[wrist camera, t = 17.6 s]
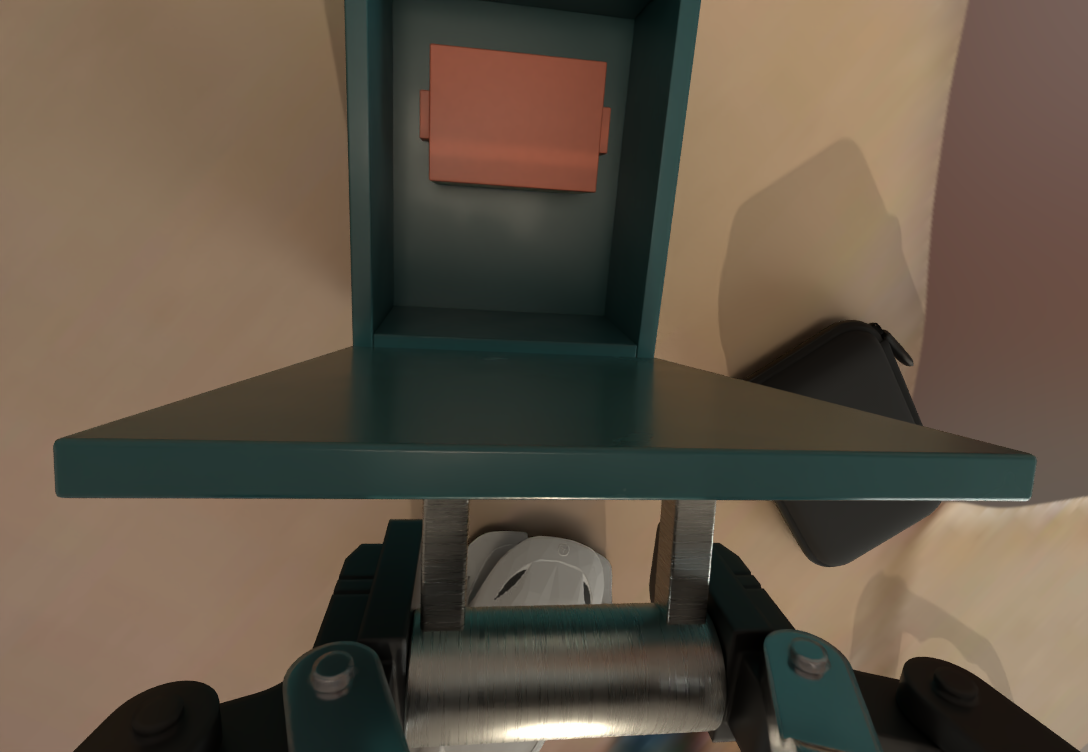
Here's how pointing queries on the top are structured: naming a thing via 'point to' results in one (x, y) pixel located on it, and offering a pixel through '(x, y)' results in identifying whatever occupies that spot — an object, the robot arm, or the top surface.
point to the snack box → (514, 120)
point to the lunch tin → (508, 214)
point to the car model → (530, 589)
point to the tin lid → (536, 474)
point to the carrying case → (860, 383)
